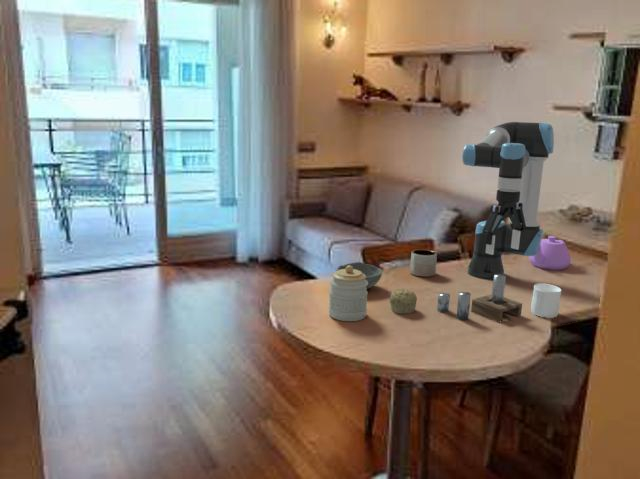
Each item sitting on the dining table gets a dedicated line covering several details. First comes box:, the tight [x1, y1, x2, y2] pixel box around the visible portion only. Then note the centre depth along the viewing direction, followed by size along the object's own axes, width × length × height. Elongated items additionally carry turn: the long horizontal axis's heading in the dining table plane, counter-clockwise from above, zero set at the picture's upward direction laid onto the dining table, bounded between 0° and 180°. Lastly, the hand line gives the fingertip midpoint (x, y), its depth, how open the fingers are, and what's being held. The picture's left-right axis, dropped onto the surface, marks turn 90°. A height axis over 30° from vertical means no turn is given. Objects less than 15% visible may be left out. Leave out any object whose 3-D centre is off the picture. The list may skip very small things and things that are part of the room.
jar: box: [328, 265, 368, 322], centre depth 200 cm, size 13×13×18 cm
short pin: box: [436, 292, 451, 313], centre depth 209 cm, size 4×4×6 cm
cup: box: [530, 282, 562, 319], centre depth 208 cm, size 10×10×10 cm
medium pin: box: [456, 291, 472, 322], centre depth 201 cm, size 4×4×9 cm
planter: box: [409, 248, 438, 278], centre depth 252 cm, size 11×11×10 cm
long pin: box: [491, 274, 507, 305], centre depth 206 cm, size 4×4×14 cm
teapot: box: [528, 235, 571, 271], centre depth 270 cm, size 25×18×14 cm
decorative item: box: [389, 288, 418, 315], centre depth 208 cm, size 10×10×10 cm
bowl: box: [336, 261, 383, 290], centre depth 231 cm, size 18×18×8 cm
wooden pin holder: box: [470, 293, 523, 323], centre depth 208 cm, size 12×12×4 cm
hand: (502, 251), depth 203 cm, fingers open, 13 cm apart
